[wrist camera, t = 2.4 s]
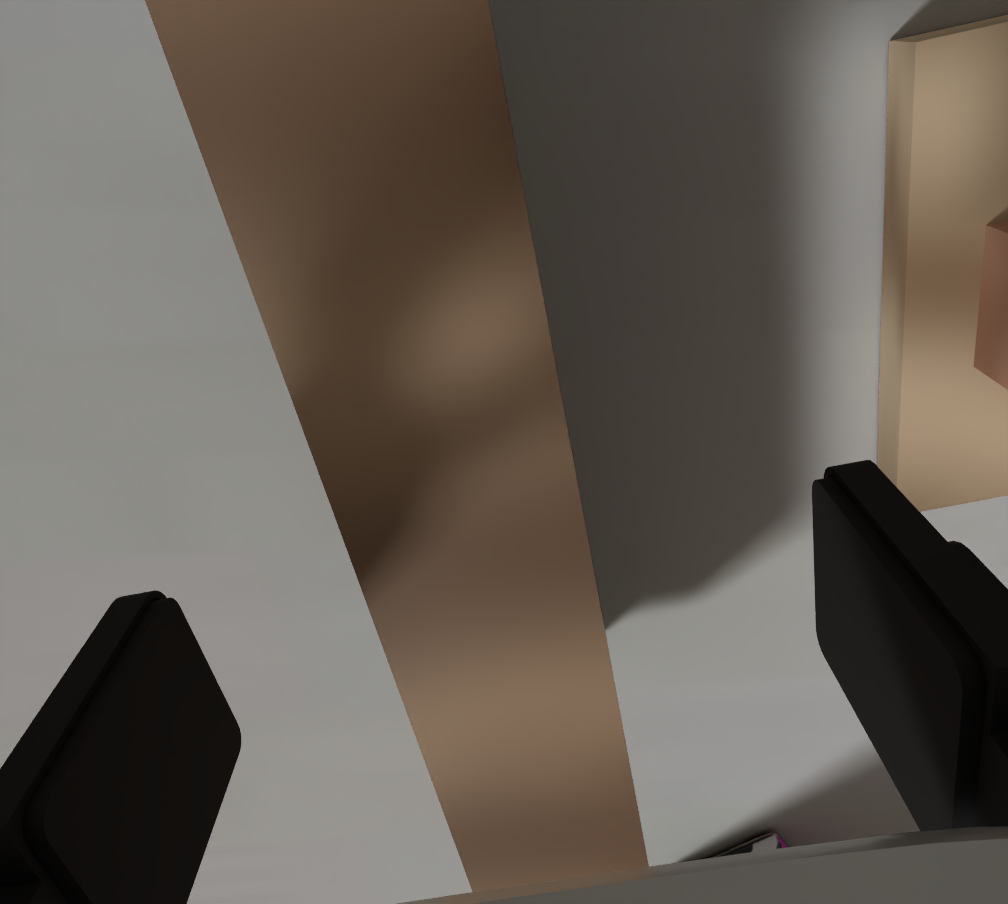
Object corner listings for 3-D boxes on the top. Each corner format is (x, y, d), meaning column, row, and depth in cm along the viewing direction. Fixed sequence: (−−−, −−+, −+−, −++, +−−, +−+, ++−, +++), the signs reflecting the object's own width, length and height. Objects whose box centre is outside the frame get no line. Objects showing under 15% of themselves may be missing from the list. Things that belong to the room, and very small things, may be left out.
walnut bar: (198, -103, 11) (89, -153, 8) (451, -165, 10) (443, -244, 7) (481, 779, 19) (484, 923, 16) (624, 754, 19) (653, 895, 16)
